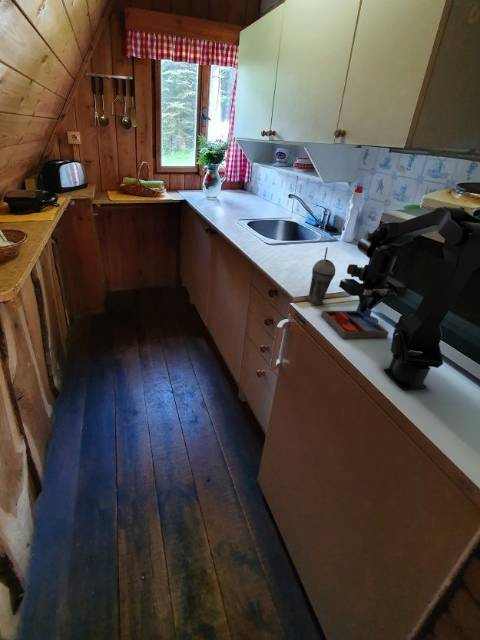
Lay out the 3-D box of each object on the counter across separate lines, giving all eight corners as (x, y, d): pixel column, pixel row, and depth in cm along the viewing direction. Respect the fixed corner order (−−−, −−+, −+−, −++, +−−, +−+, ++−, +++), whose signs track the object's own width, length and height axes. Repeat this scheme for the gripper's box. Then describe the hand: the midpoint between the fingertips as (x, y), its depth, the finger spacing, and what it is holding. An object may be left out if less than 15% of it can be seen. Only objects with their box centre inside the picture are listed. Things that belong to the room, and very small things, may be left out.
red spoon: (330, 318, 96) (333, 310, 95) (341, 318, 97) (344, 310, 96) (346, 333, 89) (349, 325, 88) (357, 333, 90) (360, 325, 89)
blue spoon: (352, 311, 96) (355, 303, 95) (363, 310, 97) (365, 303, 96) (369, 325, 89) (372, 317, 88) (380, 325, 90) (383, 317, 89)
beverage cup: (329, 307, 104) (346, 253, 96) (308, 305, 103) (323, 250, 96) (321, 296, 110) (336, 245, 103) (301, 294, 110) (315, 242, 103)
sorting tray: (386, 338, 90) (389, 332, 89) (343, 339, 87) (345, 333, 87) (360, 315, 101) (362, 310, 100) (320, 316, 98) (322, 310, 97)
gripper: (387, 255, 97) (371, 298, 103) (335, 253, 94) (322, 298, 100) (416, 271, 87) (397, 317, 93) (359, 269, 84) (343, 317, 90)
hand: (363, 311), depth 94 cm, fingers closed on blue spoon
